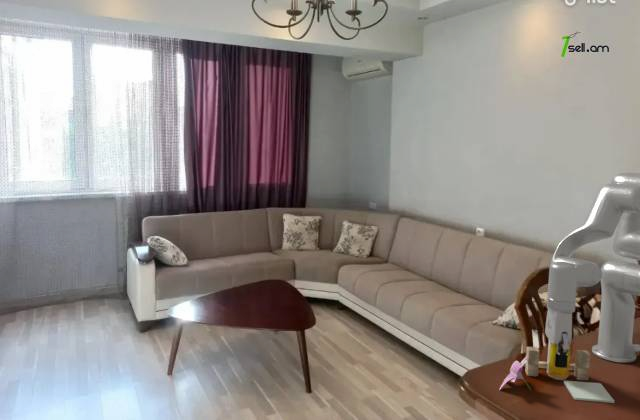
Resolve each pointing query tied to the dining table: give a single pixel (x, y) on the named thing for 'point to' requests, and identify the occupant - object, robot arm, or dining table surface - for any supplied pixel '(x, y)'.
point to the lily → (515, 372)
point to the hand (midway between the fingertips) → (557, 361)
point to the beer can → (551, 369)
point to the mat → (588, 391)
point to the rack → (533, 363)
